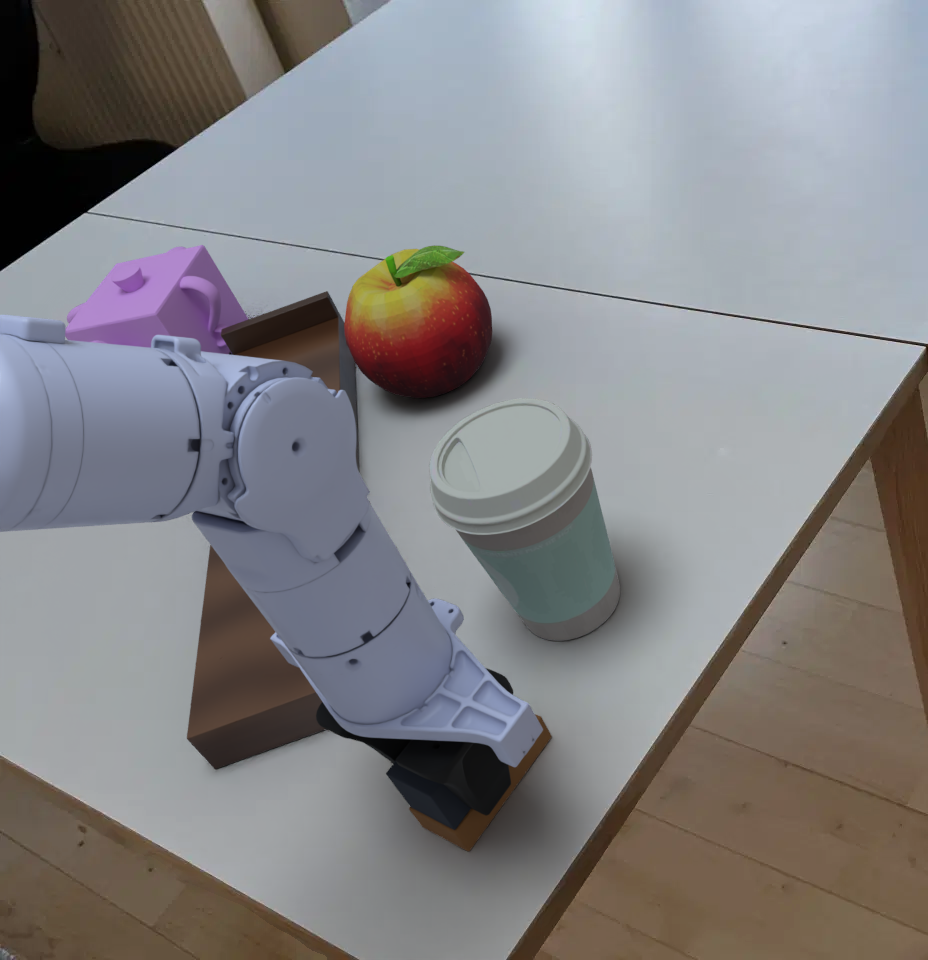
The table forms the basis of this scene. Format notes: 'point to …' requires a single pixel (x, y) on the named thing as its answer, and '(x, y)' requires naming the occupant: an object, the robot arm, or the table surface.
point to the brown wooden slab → (226, 606)
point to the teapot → (159, 302)
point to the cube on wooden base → (456, 799)
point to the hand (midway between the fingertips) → (466, 782)
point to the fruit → (418, 323)
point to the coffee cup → (530, 513)
